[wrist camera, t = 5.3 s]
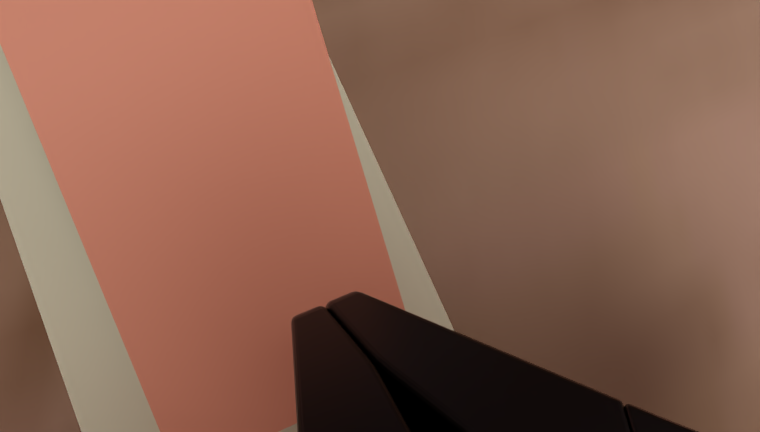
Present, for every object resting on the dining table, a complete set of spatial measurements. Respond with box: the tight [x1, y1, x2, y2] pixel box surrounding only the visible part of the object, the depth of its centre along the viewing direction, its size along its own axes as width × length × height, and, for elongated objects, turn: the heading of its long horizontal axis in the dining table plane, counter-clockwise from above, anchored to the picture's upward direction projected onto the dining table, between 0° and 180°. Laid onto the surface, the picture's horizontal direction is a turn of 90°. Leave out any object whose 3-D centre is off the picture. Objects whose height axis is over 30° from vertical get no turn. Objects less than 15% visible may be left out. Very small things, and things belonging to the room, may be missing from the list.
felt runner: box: [0, 45, 454, 432], centre depth 15 cm, size 24×8×1 cm, turn 23°
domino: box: [0, 0, 405, 432], centre depth 12 cm, size 2×5×10 cm
